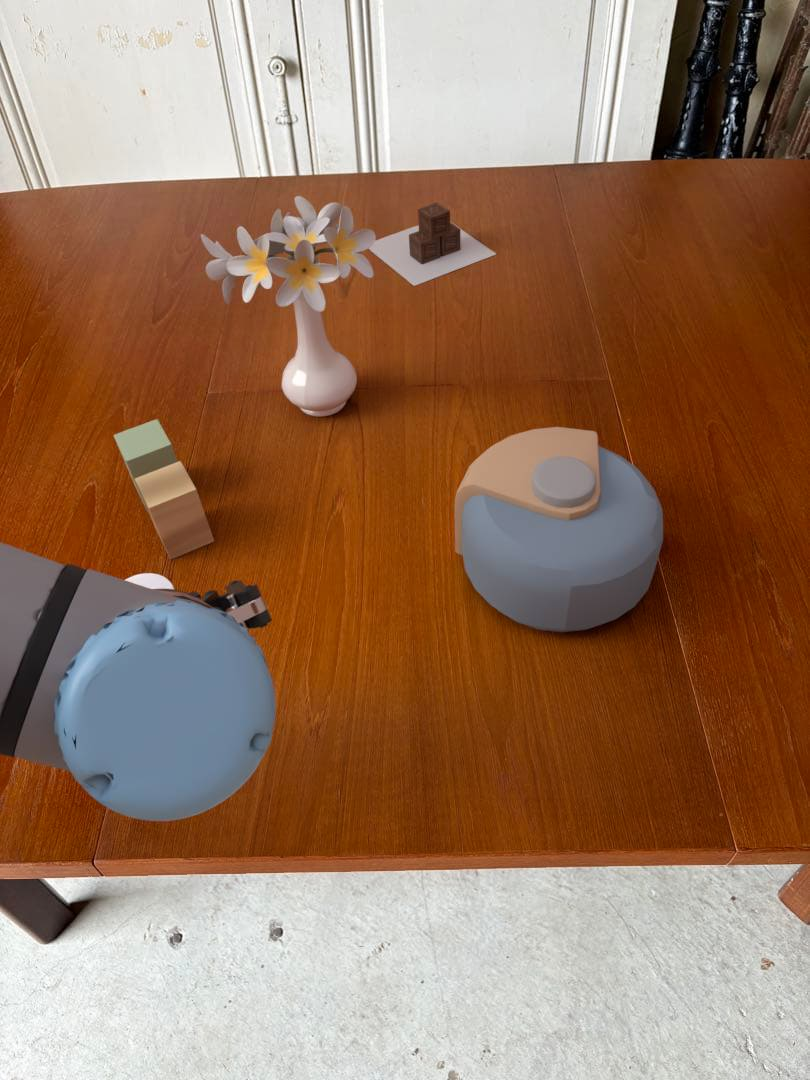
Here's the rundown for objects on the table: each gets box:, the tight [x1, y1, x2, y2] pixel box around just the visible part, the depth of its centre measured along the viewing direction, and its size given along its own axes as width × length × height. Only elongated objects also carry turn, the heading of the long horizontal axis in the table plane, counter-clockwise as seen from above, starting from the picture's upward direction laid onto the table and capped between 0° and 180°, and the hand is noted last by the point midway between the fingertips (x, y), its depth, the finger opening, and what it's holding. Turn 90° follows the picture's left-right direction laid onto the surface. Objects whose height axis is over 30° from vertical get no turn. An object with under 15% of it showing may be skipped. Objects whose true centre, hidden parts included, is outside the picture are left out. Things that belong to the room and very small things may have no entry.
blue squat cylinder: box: [454, 426, 664, 633], centre depth 79 cm, size 19×20×12 cm
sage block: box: [113, 418, 179, 514], centre depth 91 cm, size 5×5×8 cm
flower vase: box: [200, 195, 377, 418], centre depth 93 cm, size 13×18×25 cm
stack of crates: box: [367, 202, 497, 287], centre depth 124 cm, size 15×15×7 cm
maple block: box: [135, 460, 215, 560], centre depth 86 cm, size 5×5×8 cm
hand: (155, 626), depth 64 cm, fingers closed on pill bottle, 6 cm apart
